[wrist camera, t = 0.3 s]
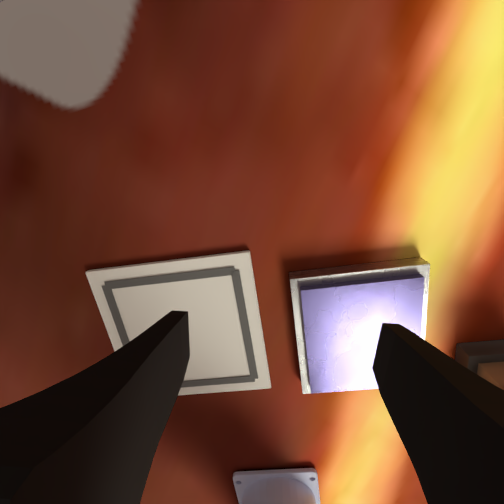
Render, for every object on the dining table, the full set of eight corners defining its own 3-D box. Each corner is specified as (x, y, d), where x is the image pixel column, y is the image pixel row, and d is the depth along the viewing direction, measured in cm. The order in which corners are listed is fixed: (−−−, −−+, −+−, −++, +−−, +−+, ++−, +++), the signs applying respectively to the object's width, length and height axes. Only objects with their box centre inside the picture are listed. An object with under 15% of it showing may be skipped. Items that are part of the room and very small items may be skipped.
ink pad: (414, 373, 23) (426, 391, 21) (301, 382, 24) (303, 400, 22) (420, 257, 20) (435, 267, 18) (288, 272, 21) (290, 283, 19)
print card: (271, 384, 24) (271, 389, 24) (134, 395, 25) (131, 399, 25) (249, 250, 20) (249, 252, 20) (88, 269, 21) (84, 272, 21)
